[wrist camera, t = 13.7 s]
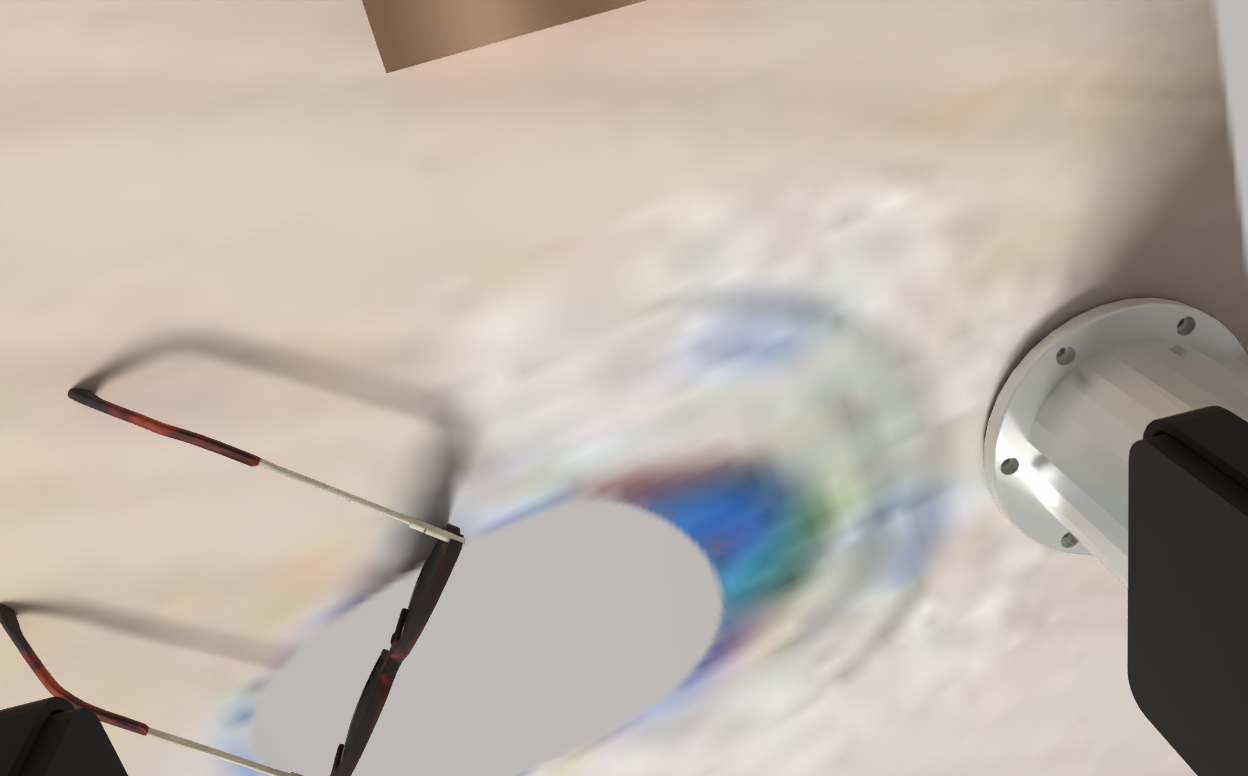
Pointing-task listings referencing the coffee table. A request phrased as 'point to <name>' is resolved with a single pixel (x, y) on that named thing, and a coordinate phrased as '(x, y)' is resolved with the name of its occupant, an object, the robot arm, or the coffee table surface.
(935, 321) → the coffee table surface
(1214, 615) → the robot arm
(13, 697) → the coffee table surface
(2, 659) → the coffee table surface
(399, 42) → the walnut block
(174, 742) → the sunglasses
